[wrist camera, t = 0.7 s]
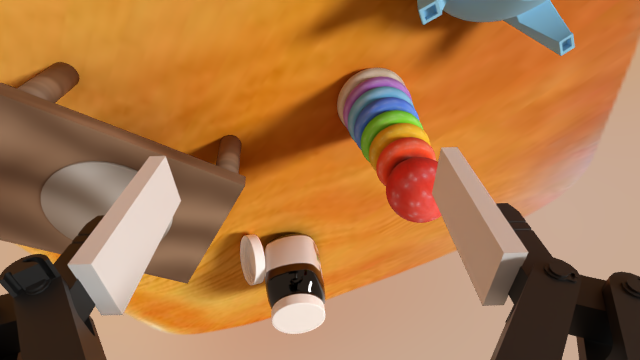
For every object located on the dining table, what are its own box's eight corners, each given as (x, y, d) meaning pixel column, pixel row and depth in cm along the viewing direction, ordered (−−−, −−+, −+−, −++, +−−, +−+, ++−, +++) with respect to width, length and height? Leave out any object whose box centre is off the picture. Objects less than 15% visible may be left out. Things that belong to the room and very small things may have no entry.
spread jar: (322, 264, 55) (334, 332, 46) (254, 279, 55) (252, 351, 46) (308, 211, 48) (318, 279, 39) (229, 228, 48) (221, 301, 39)
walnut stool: (49, 53, 32) (-16, 92, 24) (248, 139, 40) (244, 188, 33) (26, 177, 39) (-29, 237, 32) (198, 229, 47) (186, 286, 40)
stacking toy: (336, 67, 36) (387, 165, 21) (408, 63, 37) (506, 155, 22) (335, 132, 41) (376, 250, 26) (399, 127, 42) (474, 239, 27)
